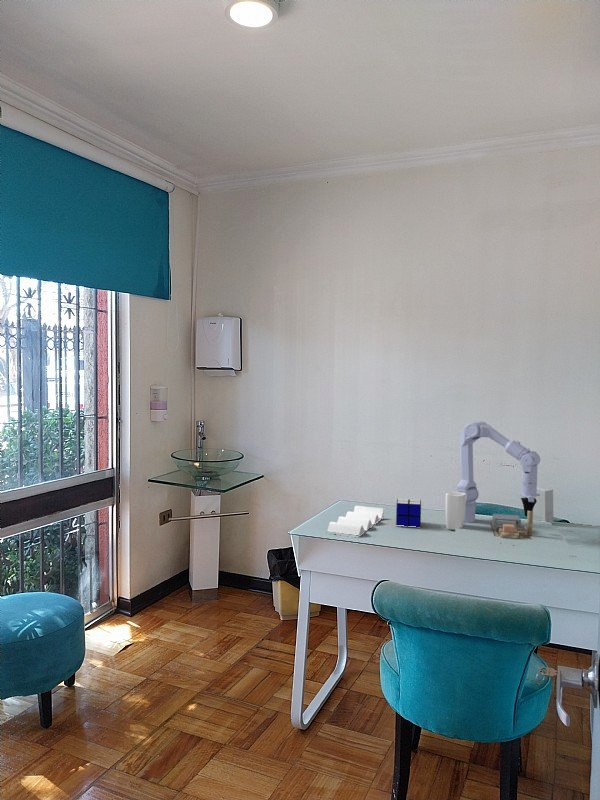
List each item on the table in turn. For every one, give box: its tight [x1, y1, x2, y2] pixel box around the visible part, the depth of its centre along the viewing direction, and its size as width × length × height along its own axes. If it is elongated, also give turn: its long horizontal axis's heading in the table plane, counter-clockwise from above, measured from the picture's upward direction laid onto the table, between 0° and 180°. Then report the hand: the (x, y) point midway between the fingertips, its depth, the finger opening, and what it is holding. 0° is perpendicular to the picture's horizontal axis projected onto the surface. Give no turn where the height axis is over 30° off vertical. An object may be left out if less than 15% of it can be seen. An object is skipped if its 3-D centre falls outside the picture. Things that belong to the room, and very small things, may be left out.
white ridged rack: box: [326, 505, 385, 536], centre depth 260 cm, size 13×35×5 cm, turn 156°
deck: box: [489, 523, 532, 540], centre depth 251 cm, size 14×20×2 cm
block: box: [502, 523, 515, 533], centre depth 243 cm, size 4×4×4 cm
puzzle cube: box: [395, 498, 422, 528], centre depth 264 cm, size 10×10×10 cm
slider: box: [499, 511, 534, 539], centre depth 242 cm, size 12×8×9 cm, turn 78°
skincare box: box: [533, 486, 554, 524], centre depth 271 cm, size 8×6×15 cm
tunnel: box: [491, 513, 522, 532], centre depth 252 cm, size 10×8×5 cm
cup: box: [445, 491, 466, 531], centre depth 257 cm, size 7×7×15 cm
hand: (528, 516), depth 249 cm, fingers closed
